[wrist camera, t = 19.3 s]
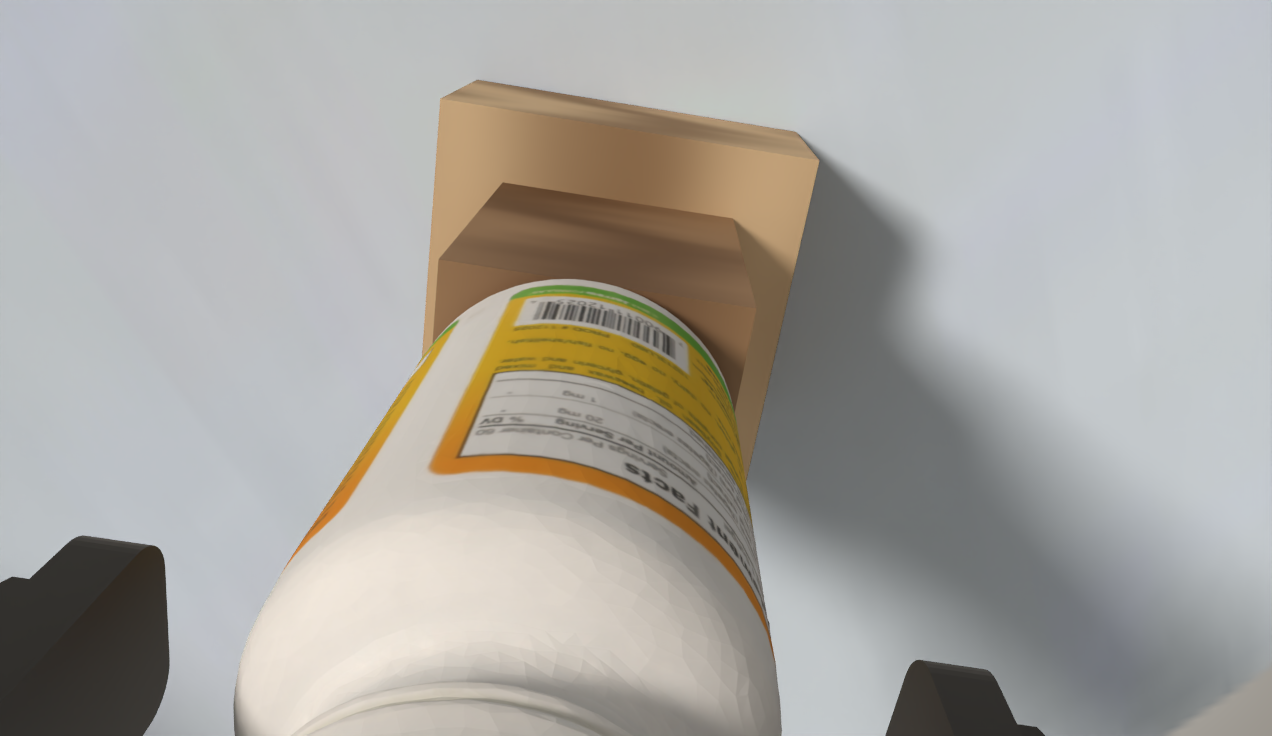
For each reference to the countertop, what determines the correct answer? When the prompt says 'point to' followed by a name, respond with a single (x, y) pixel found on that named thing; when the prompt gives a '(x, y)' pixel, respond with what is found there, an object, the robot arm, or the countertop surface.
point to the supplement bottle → (530, 544)
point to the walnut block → (607, 262)
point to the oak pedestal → (633, 187)
